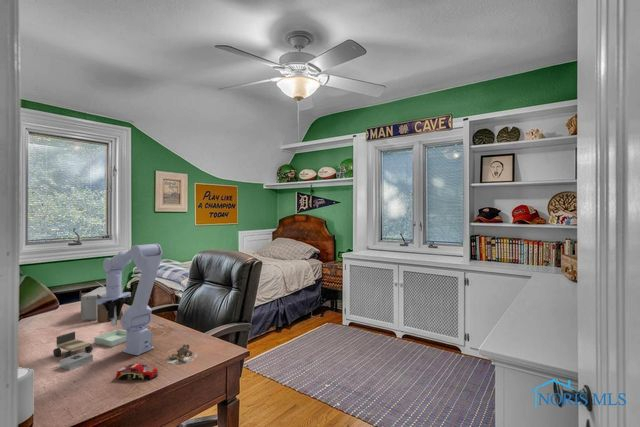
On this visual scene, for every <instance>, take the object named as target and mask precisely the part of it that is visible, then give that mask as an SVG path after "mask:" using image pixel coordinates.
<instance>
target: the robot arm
mask: <svg viewBox="0 0 640 427" xmlns="http://www.w3.org/2000/svg"><path fill="white" fill-rule="evenodd" d="M163 254H164V253H163V250H162V247H161V245H160V244H159V243H157V242H156V243H150V244H149V243H147V244H135V245H134V244H133V246H131V247H130V249H129V250H127V251H124V250H123V251H119V252H118V253H117V254H115V255H113V257H110V258H109V257H105V258H104V260H103V263H102V267H103V268H102V269H103V270H104V272H105V287H106V296H105V297H102V298H100V299H96V304H98V305H100V304H102V303H103V305H104V307H105V308H106V310H107V313H108V316H109V318H114V308H115V305H117V317H119V315H120V311H121V308H122V309H123V306H124V304H125V302H126V298H130V297H132V292H130V291H126V292H123V289H122V288H123V285H122V283H123V281H122V279H123V278H122V277H123V276H122V275H123V273H124V268H125V267H126V266H128V265H130V264H131V263H132V261H133V263H134V265H135V267H136V269H137V270H139V271H141V273H140V277H139V280H138V283H137V287H136V291H135V294H134V298H133V300H132V304H130V305H129V307H128V308H126V309H125V310H124V311H123V315H122V317H121V319H120V325H121V328H122V329H123V330H126V342H125V345H126V346H125V347H126V348H123V349H121V350H120V351H121V352H123V353H125V354H130V355H133V356H139V355H141V354H144V353H147V352H149V351H151V350H153V349H154V348H155V347H154V346H153V333H152V331H151V330H149V329H148V327H149V324H151V320H152V311H153V310H152V308H151V307H150V306H149V305H148V304H149V302H150V298H151V295H152V291H153V286H154V284H155V282H156V277H157V275H158V274H157V273H158V269H159V267H160V265H161V262H162V257H163Z"/></svg>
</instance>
